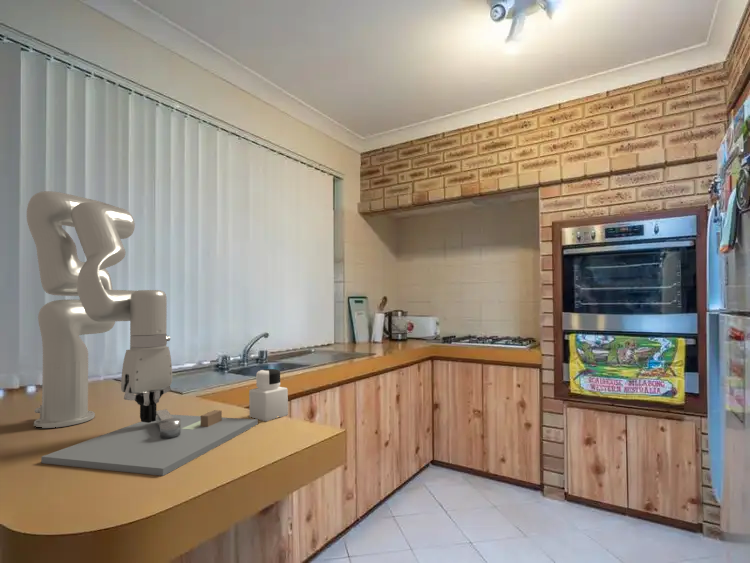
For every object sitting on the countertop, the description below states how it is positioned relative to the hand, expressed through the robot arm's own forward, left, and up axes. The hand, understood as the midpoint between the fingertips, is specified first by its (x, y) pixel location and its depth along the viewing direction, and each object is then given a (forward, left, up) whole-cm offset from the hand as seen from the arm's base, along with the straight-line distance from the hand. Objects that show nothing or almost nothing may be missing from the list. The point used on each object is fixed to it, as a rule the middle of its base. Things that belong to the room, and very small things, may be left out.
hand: (148, 421), depth 96 cm
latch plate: (+9, -5, -3) cm, 10 cm away
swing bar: (+6, -1, -1) cm, 6 cm away
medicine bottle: (+22, +17, -3) cm, 28 cm away
